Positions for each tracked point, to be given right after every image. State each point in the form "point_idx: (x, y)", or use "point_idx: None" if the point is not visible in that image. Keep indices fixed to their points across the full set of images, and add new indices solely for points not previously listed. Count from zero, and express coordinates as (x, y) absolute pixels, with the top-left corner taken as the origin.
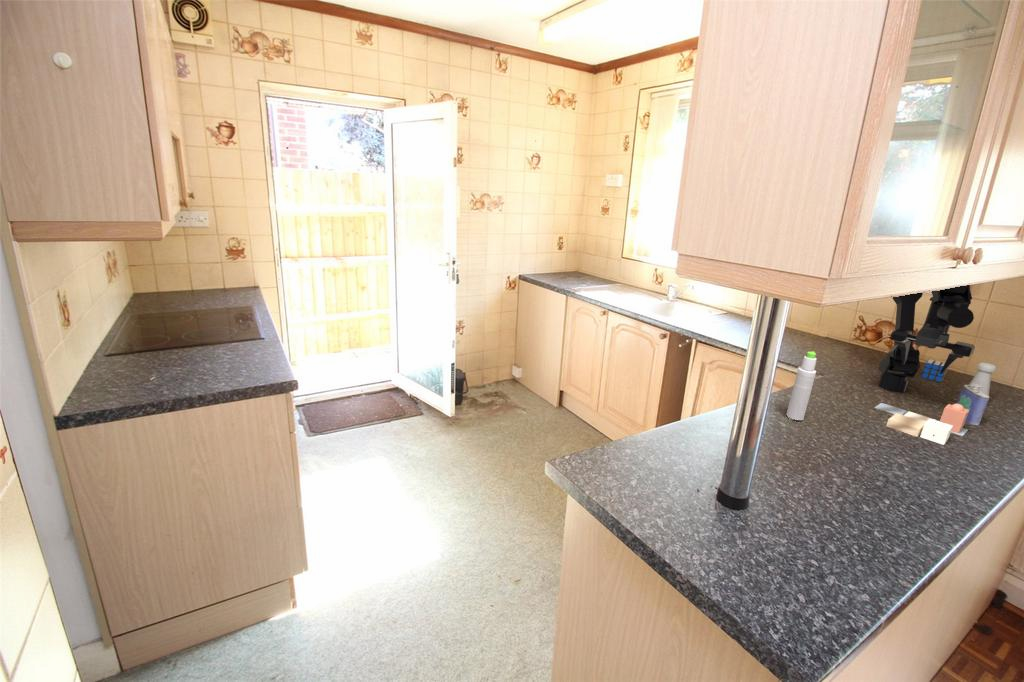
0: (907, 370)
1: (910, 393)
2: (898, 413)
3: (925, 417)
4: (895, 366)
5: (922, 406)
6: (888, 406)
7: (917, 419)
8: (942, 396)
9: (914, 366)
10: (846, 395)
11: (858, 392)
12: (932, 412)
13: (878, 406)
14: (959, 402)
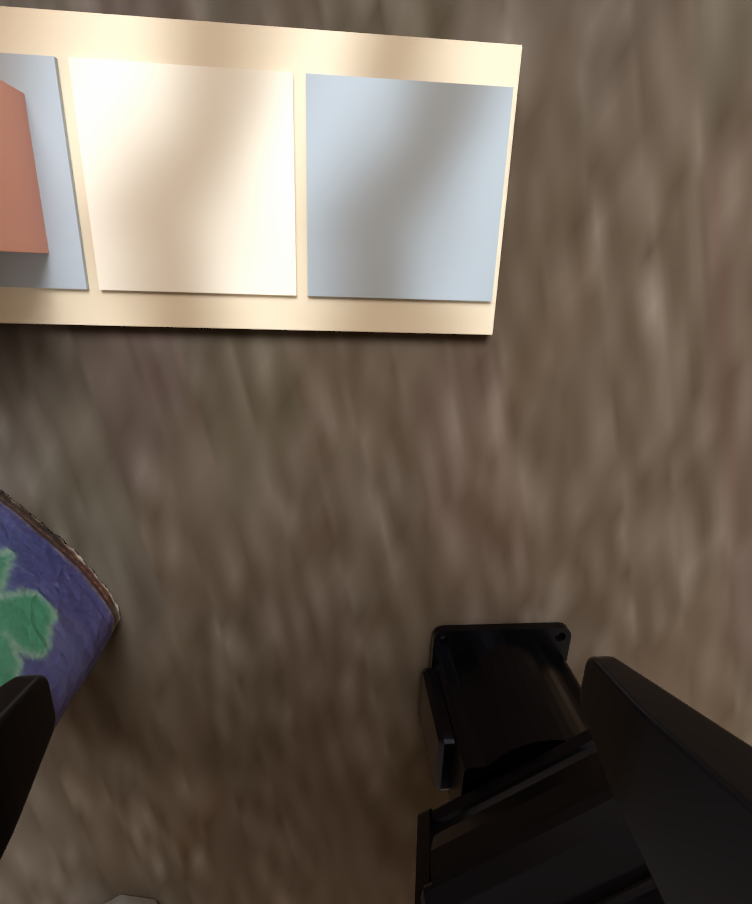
0: (485, 820)
1: (392, 740)
2: (334, 133)
3: (168, 265)
4: (604, 784)
5: (277, 567)
6: (432, 257)
7: (189, 128)
8: (256, 846)
9: (454, 897)
10: (718, 278)
11: (650, 445)
12: (198, 506)
13: (491, 162)
14: (36, 647)
